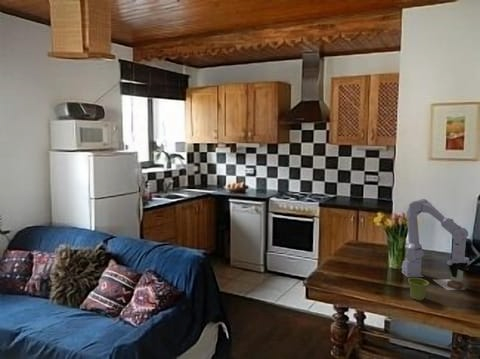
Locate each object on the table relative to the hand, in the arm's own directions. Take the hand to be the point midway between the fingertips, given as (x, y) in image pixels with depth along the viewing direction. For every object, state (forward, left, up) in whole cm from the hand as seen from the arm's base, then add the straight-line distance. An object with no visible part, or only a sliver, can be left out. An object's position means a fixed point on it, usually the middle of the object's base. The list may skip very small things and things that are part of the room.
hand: (456, 276), depth 209 cm
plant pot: (-27, -10, -7) cm, 30 cm away
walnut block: (0, 0, -6) cm, 6 cm away
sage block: (0, 0, -2) cm, 2 cm away
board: (-2, +4, -6) cm, 8 cm away
